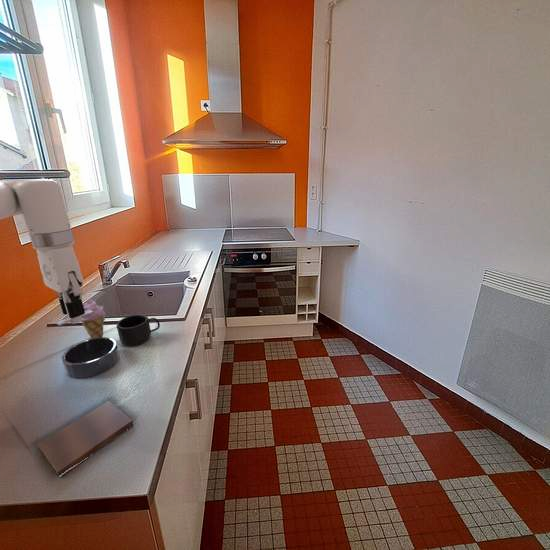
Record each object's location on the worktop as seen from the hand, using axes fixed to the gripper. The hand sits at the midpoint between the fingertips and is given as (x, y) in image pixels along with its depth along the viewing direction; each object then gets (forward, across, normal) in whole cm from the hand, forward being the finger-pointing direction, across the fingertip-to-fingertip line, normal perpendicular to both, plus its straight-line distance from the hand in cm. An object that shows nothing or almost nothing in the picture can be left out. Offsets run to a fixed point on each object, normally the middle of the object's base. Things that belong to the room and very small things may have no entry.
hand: (74, 313), depth 72 cm
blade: (+2, 0, 0) cm, 2 cm away
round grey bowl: (+19, -6, +3) cm, 20 cm away
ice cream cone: (+19, -15, +9) cm, 26 cm away
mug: (+19, -6, +18) cm, 27 cm away
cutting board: (+19, +18, -9) cm, 28 cm away
